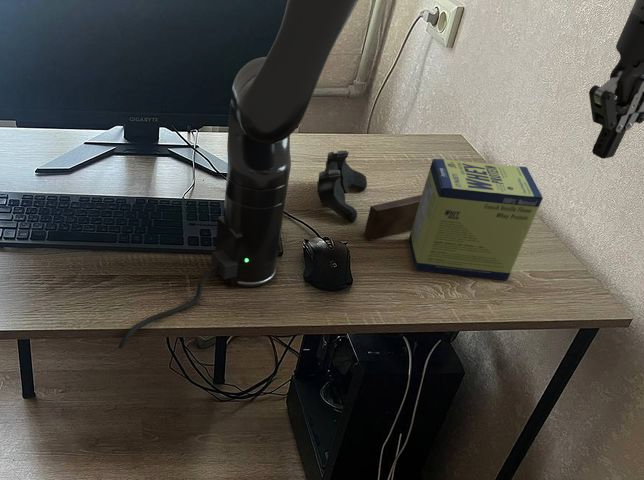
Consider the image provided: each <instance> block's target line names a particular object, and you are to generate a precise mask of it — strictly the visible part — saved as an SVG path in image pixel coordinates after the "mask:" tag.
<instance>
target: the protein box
mask: <svg viewBox="0 0 644 480" xmlns="http://www.w3.org/2000/svg"><path fill="white" fill-rule="evenodd" d="M424 183H425V184H424V186H423V191H422V193H421V195H422V196H421V200H420V203H419V207H418V210H417V214H416V217H415V220H414V223H413V227H412V230H411V231H410V233H409V237H408V242H409V247H410V252H411V256H412V263H413V267H414V271H420V272H427V273H439V274H447V275H456V276H463V277H464V276H466V277H474V278H482V279H491V280H500V281H508V280H509V278H510V275H511V273H512V271H513V269H514V266H515V264H516V261H517V259H518V256H519V255H520V251H521V249H522V247H523V245H524V242H525V241H526V238H527V236H528V233H529V231H530V229H531V227H532V224H533V222H534V220H535V217H536V215H537V212H538V210H539V208H540V206H541V203H542V201H543V199H544V197H543V195H542V193H541V192H540V190H539V187H538V186H537V184H536V182H535V180H534V178H533V177H532V174H531V173H530V171H529V168H528V167H527V166H519V165H507V164H495V163H486V162H485V163H484V162H473V161H471V162H470V161H463V160H454V159H442V158H433V159H432V161H431V164H430V166H429V171H428V174H427V177H426V180H425V182H424Z"/></svg>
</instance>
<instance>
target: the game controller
mask: <svg viewBox="0 0 644 480" xmlns="http://www.w3.org/2000/svg"><path fill="white" fill-rule="evenodd" d="M349 153H350V152H348V150H337V151H336V152H334V151H331V152H327V158H326V160H325V169H324V170H323V171H320V172H319V173H318V180H317V182H316V189H317V190H316V191H317V196H318V199H319V202H320V203H321V204H322V205H323V206H326V207H327V208H329V209H330V210H332V211H333V212H334V213H336V214H337V215H338V216H339V217H341V218H342V219H344V221H347V222H349V223H350V224H352V223H355V222H356V220H357V218H358V211H357V210H356V208H355V207H354V206H352V205H351V204H348V203H346V194H348V193H349V190H354V191H356V192H364V191H366V188H367V186H368V181H367V176H366V175H365V174H364V173H362V172H360V171H357V170H355V169H352V167H351V166H350V165H349V164H348V163H347V158H348V157H349Z"/></svg>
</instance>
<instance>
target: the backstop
mask: <svg viewBox="0 0 644 480" xmlns="http://www.w3.org/2000/svg"><path fill="white" fill-rule="evenodd" d="M421 196H422V194H420V195H414V196H410V197H406V198H402V199H397V200H393V201H392V200H391V201H388V202H383V203H379V204H374V205H370V207H369V211H368V215H367V220H366V224H365V229H364V232H363V236H364V238H366V239H367V240H368V241H375V240H377V239H383V238H385V237H386V238H387V237H391V236H395V235H398V234H403V233H406V232H411V230H412V227H413V223H414V220H415V217H416V214H417V210H418V207H419V203H420V200H421Z"/></svg>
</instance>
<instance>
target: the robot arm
mask: <svg viewBox="0 0 644 480" xmlns="http://www.w3.org/2000/svg"><path fill="white" fill-rule="evenodd" d="M359 1H360V0H287V2H286V7H285V10H284V15H283V18H282V22H281V24H280V26H279V27H280V28H279V30H278V33H277V35H276V38H275V40H274V42H273V43H272V46H271V48H270V50H269V52H268V53H267V56H263V57H258V58H254V59H252V60H250V61H249V62H247V63H245V64H244V65H243V67H241V69H240V70H239V71H238V73H236V76H235V77H234V80H233V83H232V86H231V92H230V99H229V100H230V101H229V111H228V113H229V114H228V125H227V129H228V130H227V143H226V146H227V147H226V149H227V150H226V151H227V171H226V182H225V193H224V202H223V205H224V206H223V215H221V216H218V218H217V223H216V234H215V235H216V237H215V247H214V248H215V251H212V252H211V266H212V268H210V269H208V270H207V272H205V273H204V275H203V276H202V277H201V279H199V282H198V283H197V287H196V293H195V295H194V297H193V298H192V299H191V300H190V301H189V302H187V303H185V304H182V305H178V306H176V307H174V308H172V309H169V310H166V311H162V312H159V313H157V314H153V315H151V316H149V317H147V318H146V319H144V320H142V321H140V322H138V323H136V324H134V325H133V326H132V327H131V328H130V329H129V330H128V331H127V332H126V333H125V334H124V335H123V337H122V339H121V340H120V342H119V345H118V349H124V348H125V346H126V344H127V343H128V342H129V340H130V338H131V337H132V336H133V335H134V333H136V332H137V331H138V330H140V329H141V328H143V327H144V326H147V325H149V324H150V323H152V322H154V321H156V320H159V319H162V318H165V317H169V316H172V315H174V314H177V313H178V312H181V311H184V310H186V309H190V308H191V307H193V306H194V305H196V304H197V302H198V301H199V300H200V299H201V297H202V292H203V286H204V284H205V283H206V281H207V280H208V279H209V278H210V277H211V276H212V275H213V274H215V273H216V272H217V273H218V275H220V276H221V278H222V279H223V280H224V281H225V282H226V284H227V285H229V286H230V287H236V286H239V287H246V288H256V287H260V286H264V285H267V284H269V283H270V282H272V281H273V279H274V278H275V276H276V271H277V262H278V261H277V259H278V255H280V254H281V245H280V241H281V233H282V228H283V227H282V226H283V220H284V213H285V206H286V200H287V194H288V188H289V180H290V175H291V167H292V165H291V164H292V158H291V157H292V156H291V135H292V134H293V133H294V132H295V131H296V130H297V128H298V127H299V126H300V124H301V123H302V121H303V119H304V117H305V115H306V112H307V111H308V108H309V106H310V103H311V101H312V97H313V95H314V93H315V90H316V87H317V85H318V83H319V80H320V77H321V76H322V73H323V70H324V68H325V65H326V64H327V61H328V58H329V57H330V55H331V53H332V51H333V49H334V48H335V45H336V43H337V41H338V40H339V38H340V36H341V35H342V32H343V30H344V29H345V28H346V26H347V23H348V22H349V20H350V18H351V16H352V14H353V12H354V10H355V8H356V6H357V5H358V3H359ZM615 49H616V51H617V52H618V53H619V60H618V62H617V63H616V65H615V66H614V68H613V69H612V70H611V72H610V75H609V80H607V81H606V82H604V84H602V85H601V86H599V85H597V84H594V85H593V86H591V88H590V89H589V91H588V96H589V97H588V98H589V102H590V110H591V118H592V122H593V123H595V124H598V125H600V126H601V130H600V132H599V134H598V136H597V138H596V140H595V143H594V144H593V146H592V151H591V153H592V154H593V155H594V156H596V157H598V158H600V159H603V160H604V159H609V158H613V157H614V156H615V155H616V152H617V150H618V149H619V147H620V144H621V143H622V140H623V138H624V136H625V134H626V132H627V131H630V130H631V129H632V128H633V126H634V124H636V123H637V124H640V125H641V124H642V123H643V122H644V0H635V1H634V3H633V6H632V8H631V10H630V12H629V15H628V17H627V19H626V21H625V25H624V26H623V28H622V30H621V33H620V35H619V37H618V40H617V41H616V44H615Z"/></svg>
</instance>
